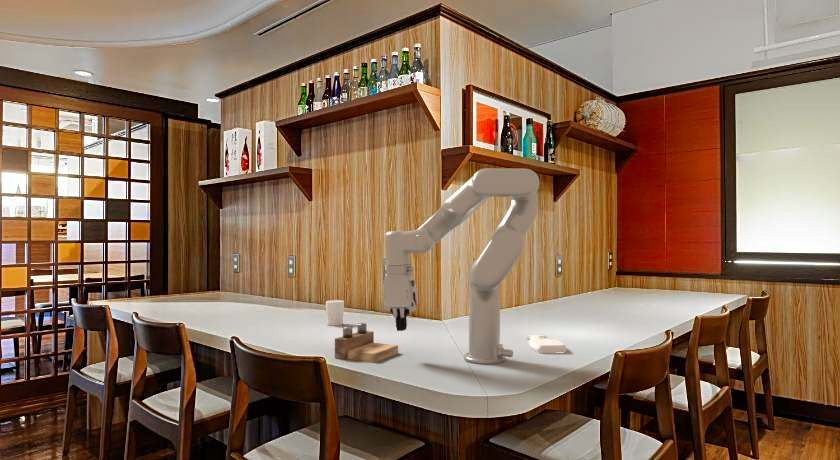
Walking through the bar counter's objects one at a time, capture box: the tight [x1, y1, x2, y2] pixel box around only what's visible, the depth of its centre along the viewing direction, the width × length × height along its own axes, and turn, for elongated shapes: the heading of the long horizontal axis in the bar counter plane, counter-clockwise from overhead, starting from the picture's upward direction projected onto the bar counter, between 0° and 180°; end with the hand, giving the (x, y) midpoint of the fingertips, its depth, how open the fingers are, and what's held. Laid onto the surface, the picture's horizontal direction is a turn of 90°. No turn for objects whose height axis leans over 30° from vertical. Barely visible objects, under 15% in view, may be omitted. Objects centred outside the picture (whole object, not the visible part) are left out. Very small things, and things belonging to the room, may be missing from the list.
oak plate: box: [346, 342, 399, 363], centre depth 166 cm, size 10×14×3 cm
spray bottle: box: [526, 334, 567, 354], centre depth 182 cm, size 3×11×25 cm
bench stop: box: [334, 322, 375, 360], centre depth 169 cm, size 4×16×9 cm, turn 152°
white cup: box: [325, 299, 345, 327], centre depth 225 cm, size 8×8×10 cm
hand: (401, 329), depth 162 cm, fingers closed
